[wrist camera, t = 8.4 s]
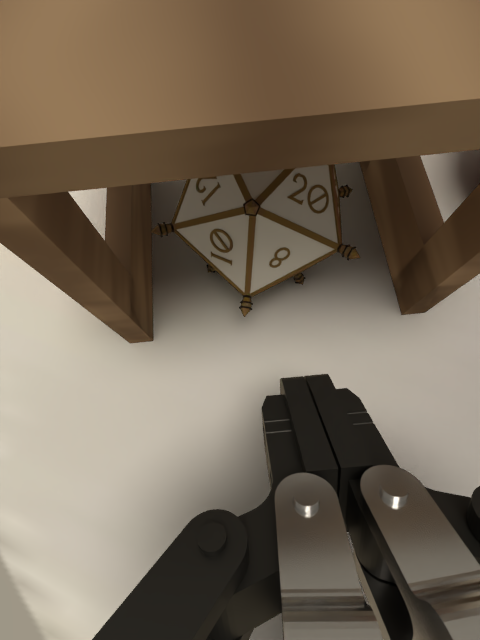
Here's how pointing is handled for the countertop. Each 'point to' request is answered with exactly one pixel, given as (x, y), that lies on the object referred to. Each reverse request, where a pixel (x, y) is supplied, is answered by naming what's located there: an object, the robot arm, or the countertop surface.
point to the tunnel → (230, 126)
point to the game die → (262, 225)
